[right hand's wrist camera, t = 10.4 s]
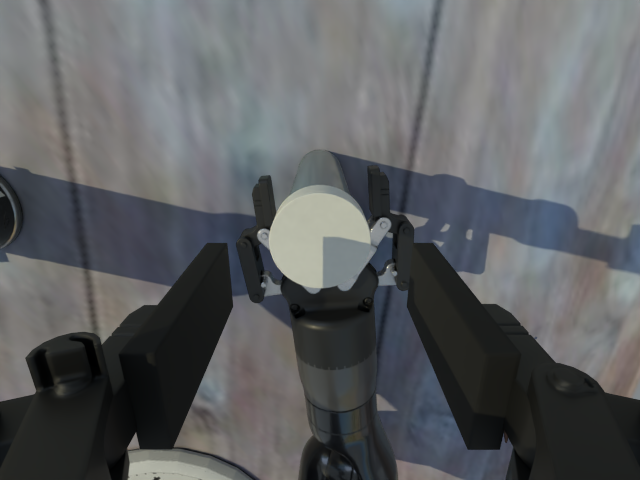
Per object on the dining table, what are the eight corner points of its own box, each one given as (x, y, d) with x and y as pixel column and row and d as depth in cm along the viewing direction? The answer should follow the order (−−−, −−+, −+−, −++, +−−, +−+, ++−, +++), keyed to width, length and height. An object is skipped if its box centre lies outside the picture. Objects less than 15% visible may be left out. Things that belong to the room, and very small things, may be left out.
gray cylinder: (296, 151, 35) (272, 200, 17) (340, 148, 35) (361, 195, 17) (300, 194, 36) (281, 280, 19) (342, 191, 36) (363, 275, 19)
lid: (268, 187, 18) (263, 196, 17) (365, 181, 18) (370, 189, 17) (278, 275, 20) (274, 291, 19) (367, 270, 20) (371, 285, 18)
